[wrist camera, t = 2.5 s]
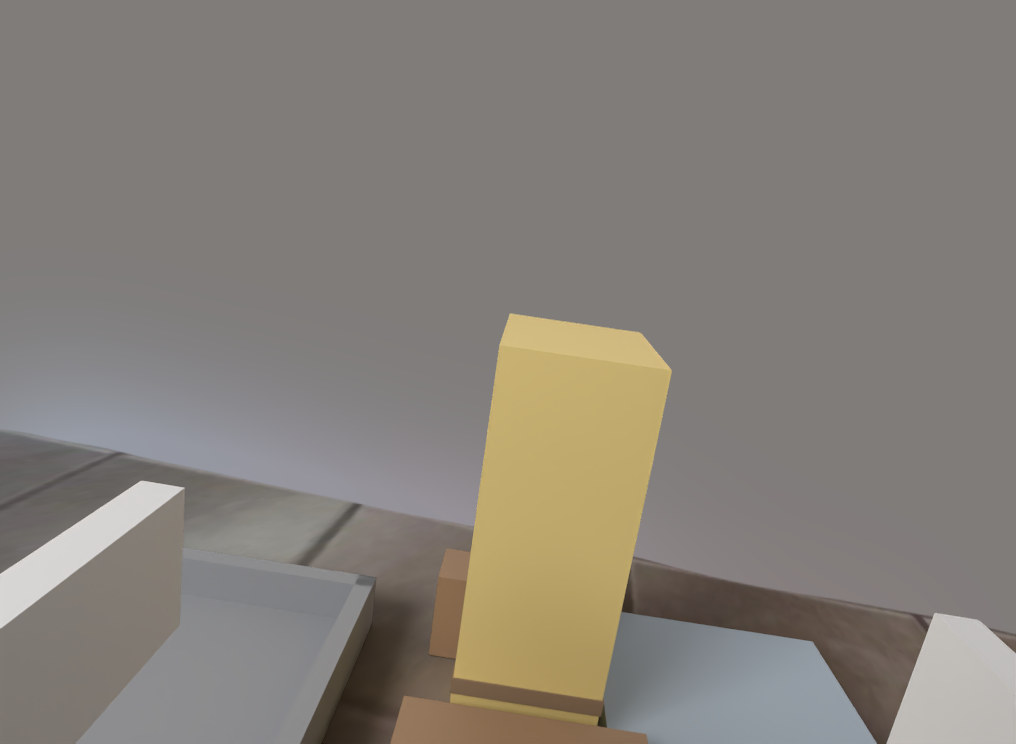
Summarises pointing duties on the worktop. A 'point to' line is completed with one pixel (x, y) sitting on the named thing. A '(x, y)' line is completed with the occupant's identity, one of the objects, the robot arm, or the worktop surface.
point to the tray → (246, 657)
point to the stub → (557, 516)
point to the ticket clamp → (655, 688)
